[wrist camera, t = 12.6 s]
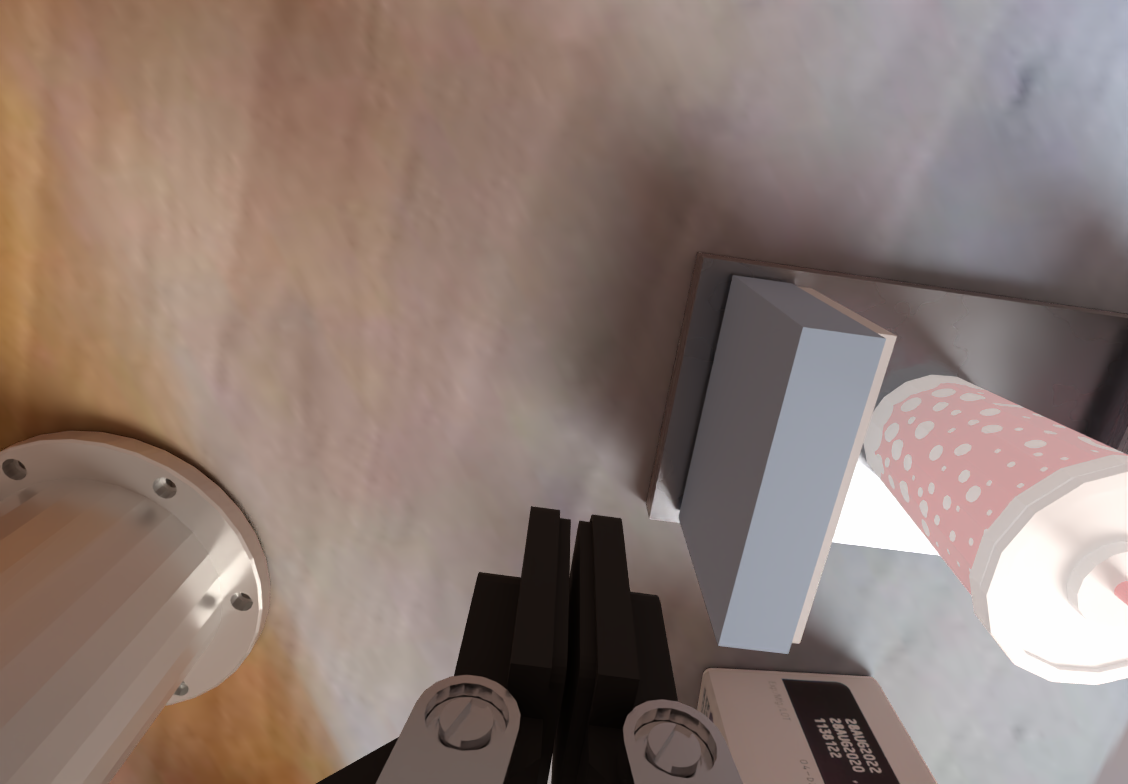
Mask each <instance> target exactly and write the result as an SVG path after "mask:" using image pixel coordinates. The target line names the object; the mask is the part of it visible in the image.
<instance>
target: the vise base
mask: <svg viewBox="0 0 1128 784" xmlns="http://www.w3.org/2000/svg"><path fill="white" fill-rule="evenodd" d="M733 275H736V276H743V277H750V278H757V279H764V280H772V281H779V282H786V283H792V284H794V285H795V286H799V287H806V288H812V289H814V290H816V291H817V292H819V293H821V294H823V295H824V296H826V297H828V298H830V299H832V300H833V301H835V302H837V303H839V304H841V305H842V306H844V307H846V308H848V309H850V310H851V311H853V312H855V313H857V314H859V315H860V316H862V317H864V318H866V319H867V320H869V321H871V322H873V323H875V324H876V325H878V326H880V327H882V328H884V329H885V330H887V331H889V332H891V333H893V334H894V335H896V336H897V338H896V341H895V344H894V347H893V350H892V354H891V357H890V360H889V363H888V366H887V369H886V373H885V376H884V379H883V382H882V385H881V388H880V392H879V395H878V398H877V401H876V404H875V407H874V410H875V409H876V407H877V406H878V405H879V403H880V402H881V401H882V399H883V398H884V397H885V396H886V395H888V394H889V393H891V392H892V391H894V390H895V389H896V388H898V387H899V386H901V385H902V384H904V383H905V382H907V381H911V380H914V379H918V378H921V377H925V376H928V375H943V376H954V377H958V378H961V379H963V380H965V381H967V382H969V383H972V384H974V385H976V386H978V387H980V388H982V389H985V390H987V391H989V392H991V393H993V394H996V395H998V396H1000V397H1002V398H1004V399H1007V400H1009V401H1011V402H1013V403H1015V404H1018V405H1020V406H1022V407H1024V408H1026V409H1029V410H1031V411H1033V412H1035V413H1037V414H1039V415H1042V416H1044V417H1046V418H1048V419H1050V420H1053V421H1055V422H1057V423H1059V424H1061V425H1064V426H1066V427H1068V428H1070V429H1072V430H1075V431H1077V432H1079V433H1081V434H1083V435H1086V436H1088V437H1090V438H1092V439H1094V440H1096V441H1099V442H1101V443H1103V444H1105V445H1107V446H1110V447H1112V448H1114V449H1116V450H1118V451H1121V452H1123V453H1125V454H1127V455H1128V314H1125V313H1118V312H1111V311H1104V310H1097V309H1090V308H1083V307H1076V306H1069V305H1062V304H1055V303H1048V302H1041V301H1034V300H1027V299H1020V298H1013V297H1006V296H999V295H992V294H985V293H978V292H971V291H964V290H957V289H950V288H943V287H936V286H929V285H922V284H915V283H909V282H902V281H895V280H888V279H881V278H874V277H867V276H860V275H853V274H846V273H839V272H832V271H825V270H818V269H811V268H804V267H797V266H790V265H783V264H776V263H769V262H762V261H755V260H748V259H741V258H734V257H727V256H720V255H713V254H706V253H699V252H697V256H696V261H695V266H694V271H693V275H692V280H691V285H690V290H689V295H688V300H687V305H686V310H685V315H684V320H683V324H682V329H681V334H680V339H679V344H678V349H677V354H676V359H675V364H674V368H673V373H672V378H671V383H670V388H669V393H668V398H667V403H666V408H665V412H664V417H663V422H662V427H661V432H660V437H659V442H658V447H657V452H656V457H655V461H654V466H653V471H652V476H651V481H650V486H649V491H648V496H647V501H646V507H647V511H648V515H649V519H652V520H660V521H668V522H676V523H680V521H679V513H680V508H681V504H682V499H683V495H684V490H685V486H686V481H687V477H688V472H689V468H690V464H691V459H692V455H693V450H694V446H695V441H696V437H697V432H698V428H699V423H700V419H701V415H702V410H703V406H704V401H705V397H706V392H707V388H708V383H709V379H710V374H711V370H712V366H713V361H714V357H715V352H716V348H717V343H718V339H719V334H720V330H721V325H722V321H723V317H724V312H725V308H726V303H727V299H728V294H729V290H730V285H731V281H732V276H733ZM873 412H874V411H873ZM832 542H836V543H844V544H852V545H860V546H868V547H876V548H884V549H892V550H900V551H908V552H916V553H924V554H932V555H939V553H938V552H937V551H936V550H935V548H934V547H933V546H932V545H931V543H930V542H929V541H928V539H927V538H926V537H925V536H924V534H923V533H922V532H921V531H920V529H919V528H918V527H917V526H916V524H915V523H914V522H913V520H912V519H911V518H910V517H909V515H908V514H907V513H906V512H905V510H904V509H903V508H902V506H901V505H900V504H899V503H898V501H897V500H896V499H895V498H894V496H893V495H892V494H891V492H890V491H889V490H888V489H887V487H886V486H885V485H884V484H883V482H882V481H881V480H880V479H879V477H878V476H877V475H876V473H875V472H874V471H873V469H872V468H871V467H870V465H869V464H868V463H867V460H866V454H865V449H864V443H863V445H862V449H861V452H860V455H859V458H858V461H857V464H856V468H855V471H854V474H853V477H852V480H851V483H850V487H849V490H848V493H847V496H846V499H845V502H844V506H843V509H842V512H841V515H840V518H839V521H838V525H837V528H836V531H835V534H834V537H833V540H832Z"/></svg>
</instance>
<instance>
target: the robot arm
mask: <svg viewBox="0 0 1128 784" xmlns="http://www.w3.org/2000/svg"><path fill="white" fill-rule="evenodd" d="M570 527H571V520H570V519H562V518H560V510H554V509H547V508H539V507H532V506H531V511H530V518H529V525H528V532H527V539H526V546H525V553H524V560H523V568H522V575H521V578H520V577H513V576H505V575H498V574H490V573H482V572H479V573H478V576H477V580H476V585H475V589H474V593H473V597H472V602H471V606H470V610H469V614H468V619H467V623H466V627H465V631H464V636H463V640H462V644H461V648H460V653H459V657H458V661H457V665H456V670H455V674H454V676H452V677H449V678H446V679H443V680H441V681H438V682H436V683H435V684H433V685H432V686H430V687H429V688H428V689H426V690H425V691H424V692H423V694H422V695H421V696H420V698H419V699H418V700H417V702H416V704H415V706H414V708H413V710H412V712H411V714H410V716H409V718H408V720H407V722H406V724H405V726H404V728H403V730H402V732H401V734H400V736H399V737H398V738H396V739H394V740H393V741H391V742H389V743H387V744H386V745H384V746H382V747H380V748H378V749H377V750H375V751H373V752H371V753H370V754H368V755H366V756H364V757H362V758H361V759H359V760H357V761H355V762H354V763H352V764H350V765H348V766H346V767H345V768H343V769H341V770H339V771H338V772H336V773H334V774H332V775H330V776H329V777H327V778H325V779H323V780H322V781H320V782H318V783H316V784H547V781H548V776H549V770H550V765H551V759H552V781H551V784H743V782H742V779H741V777H740V775H739V772H738V770H737V767H736V765H735V763H734V760H733V758H732V755H731V753H730V750H729V748H728V746H727V743H726V741H725V739H724V737H723V736H722V734H721V732H720V731H719V729H718V727H717V726H716V725H715V724H714V723H713V722H712V721H711V720H710V719H709V718H708V717H707V716H705V715H704V714H702V713H701V712H699V711H698V710H696V709H694V708H693V707H691V706H688V705H685V704H683V703H680V702H678V700H677V694H676V688H675V683H674V677H673V671H672V666H671V660H670V654H669V649H668V643H667V637H666V632H665V626H664V620H663V615H662V609H661V603H660V600H659V597H658V596H657V595H650V594H643V593H635V592H630V588H629V579H628V570H627V561H626V552H625V543H624V535H623V526H622V519H621V518H614V517H607V516H599V515H592V516H591V519H590V522H585V521H579V525H578V530H577V536H576V542H575V548H574V553H573V559H572V565H571V571H570ZM569 571H570V577H569ZM270 587H271V584H270V578H269V572H268V567H267V561H266V558H265V555H264V553H263V550H262V548H261V545H260V543H259V540H258V538H257V535H256V533H255V532H254V530H253V529H252V527H251V525H250V524H249V522H248V521H247V519H246V518H245V516H244V515H243V513H242V511H241V510H240V509H239V508H238V507H237V505H236V504H235V503H234V502H233V501H232V500H231V499H230V498H229V497H228V496H227V495H226V493H225V492H224V491H223V490H222V489H221V488H220V487H219V486H218V485H216V484H215V483H214V482H213V481H211V480H210V479H209V478H208V477H206V476H205V475H204V474H203V473H201V472H200V471H199V470H198V469H196V468H195V467H194V466H192V465H190V464H188V463H186V462H185V461H183V460H181V459H179V458H178V457H176V456H174V455H172V454H171V453H169V452H167V451H165V450H163V449H160V448H157V447H155V446H152V445H149V444H147V443H144V442H142V441H139V440H136V439H133V438H128V437H124V436H119V435H114V434H109V433H105V432H92V431H63V432H56V433H49V434H42V435H38V436H35V437H32V438H29V439H27V440H24V441H21V442H18V443H15V444H13V445H11V446H9V447H7V448H5V449H4V450H2V451H0V784H109V783H110V781H111V780H112V778H113V777H114V776H115V774H116V773H117V772H118V770H119V769H120V767H121V766H122V765H123V763H124V762H125V760H126V759H127V758H128V756H129V755H130V754H131V752H132V751H133V749H134V748H135V747H136V745H137V744H138V742H139V741H140V740H141V738H142V737H143V736H144V734H145V733H146V731H147V730H148V729H149V727H150V726H151V724H152V723H153V722H154V720H155V719H156V717H157V716H158V715H159V713H160V712H161V711H162V709H163V708H164V706H165V705H172V704H175V703H179V702H182V701H185V700H189V699H192V698H196V697H197V696H199V695H201V694H203V693H205V692H207V691H209V690H211V689H213V688H215V687H217V686H218V685H219V684H221V683H222V682H223V681H224V680H226V679H227V678H228V677H229V676H231V675H232V674H233V673H234V672H235V671H236V670H237V669H238V668H239V666H240V665H241V664H242V662H243V661H244V660H245V658H246V657H247V656H248V655H249V653H250V651H251V650H252V648H253V646H254V645H255V643H256V641H257V639H258V638H259V636H260V634H261V632H262V631H263V628H264V625H265V621H266V618H267V615H268V611H269V607H270ZM552 753H553V758H552Z"/></svg>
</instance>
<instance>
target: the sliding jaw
mask: <svg viewBox="0 0 1128 784" xmlns="http://www.w3.org/2000/svg"><path fill="white" fill-rule="evenodd" d="M896 338H897V336H896V335H894V334H893V333H891V332H889V331H887V330H885V329H884V328H882V327H880V326H878V325H876V324H875V323H873V322H871V321H869V320H867V319H866V318H864V317H862V316H860V315H859V314H857V313H855V312H853V311H851V310H850V309H848V308H846V307H844V306H842V305H841V304H839V303H837V302H835V301H833V300H832V299H830V298H828V297H826V296H824V295H823V294H821V293H819V292H817V291H816V290H814V289H812V288H806V287H799V286H795V285H794V284H792V283H786V282H779V281H772V280H764V279H757V278H750V277H743V276H736V275H733V276H732V281H731V285H730V290H729V294H728V299H727V303H726V308H725V312H724V317H723V321H722V325H721V330H720V334H719V339H718V343H717V348H716V352H715V357H714V361H713V366H712V370H711V374H710V379H709V383H708V388H707V392H706V397H705V401H704V406H703V410H702V415H701V419H700V423H699V428H698V432H697V437H696V441H695V446H694V450H693V455H692V459H691V464H690V468H689V472H688V477H687V481H686V486H685V490H684V495H683V499H682V504H681V508H680V513H679V521H680V524H681V527H682V530H683V534H684V537H685V540H686V543H687V547H688V550H689V553H690V556H691V560H692V563H693V566H694V569H695V573H696V576H697V579H698V582H699V585H700V589H701V592H702V595H703V598H704V602H705V605H706V608H707V611H708V615H709V618H710V621H711V624H712V628H713V631H714V634H715V637H716V641H717V644H718V646H724V647H732V648H741V649H749V650H758V651H766V652H775V653H783V654H788V653H789V650H790V647H791V644H792V643H797V644H800V642H801V638H802V635H803V632H804V629H805V626H806V623H807V619H808V616H809V613H810V610H811V607H812V604H813V600H814V597H815V594H816V591H817V588H818V585H819V582H820V578H821V575H822V572H823V569H824V566H825V563H826V559H827V556H828V553H829V550H830V547H831V544H832V540H833V537H834V534H835V531H836V528H837V525H838V521H839V518H840V515H841V512H842V509H843V506H844V502H845V499H846V496H847V493H848V490H849V487H850V483H851V480H852V477H853V474H854V471H855V468H856V464H857V461H858V458H859V455H860V452H861V449H862V445H863V442H864V439H865V436H866V433H867V430H868V426H869V423H870V420H871V417H872V414H873V411H874V407H875V404H876V401H877V398H878V395H879V392H880V388H881V385H882V382H883V379H884V376H885V373H886V369H887V366H888V363H889V360H890V357H891V354H892V350H893V347H894V344H895V341H896Z"/></svg>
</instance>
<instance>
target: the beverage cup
mask: <svg viewBox="0 0 1128 784" xmlns="http://www.w3.org/2000/svg"><path fill="white" fill-rule="evenodd" d="M863 443H864V449H865V454H866V460H867V463H868V464H869V465H870V467H871V468H872V469H873V471H874V472H875V473H876V475H877V476H878V477H879V479H880V480H881V481H882V482H883V484H884V485H885V486H886V487H887V489H888V490H889V491H890V492H891V494H892V495H893V496H894V498H895V499H896V500H897V501H898V503H899V504H900V505H901V506H902V508H903V509H904V510H905V512H906V513H907V514H908V515H909V517H910V518H911V519H912V520H913V522H914V523H915V524H916V526H917V527H918V528H919V529H920V531H921V532H922V533H923V534H924V536H925V537H926V538H927V539H928V541H929V542H930V543H931V545H932V546H933V547H934V548H935V550H936V551H937V552H938V553H939V555H940V556H941V557H942V559H943V560H944V561H945V562H946V564H947V565H948V566H949V567H950V569H951V570H952V571H953V573H954V574H955V575H956V576H957V578H958V579H959V580H960V581H961V583H962V584H963V585H964V586H965V588H966V589H967V590H968V592H969V593H970V594H971V595H972V602H973V609H974V614H975V615H976V616H977V618H978V619H979V620H980V622H981V623H982V624H983V625H984V627H985V628H986V629H987V631H988V632H989V633H990V635H991V636H992V637H993V639H994V640H995V641H996V642H997V644H998V645H999V646H1000V648H1001V649H1002V650H1003V652H1004V653H1005V654H1006V655H1007V657H1008V658H1009V659H1010V660H1011V661H1012V662H1013V664H1015V665H1017V666H1019V667H1021V668H1023V669H1025V670H1027V671H1029V672H1032V673H1034V674H1036V675H1038V676H1040V677H1042V678H1044V679H1046V680H1048V681H1051V682H1062V683H1076V684H1090V685H1099V684H1103V683H1108V682H1112V681H1116V680H1121V679H1125V678H1128V455H1127V454H1125V453H1123V452H1121V451H1118V450H1116V449H1114V448H1112V447H1110V446H1107V445H1105V444H1103V443H1101V442H1099V441H1096V440H1094V439H1092V438H1090V437H1088V436H1086V435H1083V434H1081V433H1079V432H1077V431H1075V430H1072V429H1070V428H1068V427H1066V426H1064V425H1061V424H1059V423H1057V422H1055V421H1053V420H1050V419H1048V418H1046V417H1044V416H1042V415H1039V414H1037V413H1035V412H1033V411H1031V410H1029V409H1026V408H1024V407H1022V406H1020V405H1018V404H1015V403H1013V402H1011V401H1009V400H1007V399H1004V398H1002V397H1000V396H998V395H996V394H993V393H991V392H989V391H987V390H985V389H982V388H980V387H978V386H976V385H974V384H972V383H969V382H967V381H965V380H963V379H961V378H958V377H954V376H943V375H928V376H925V377H921V378H918V379H914V380H911V381H907V382H905V383H904V384H902V385H901V386H899V387H898V388H896V389H895V390H894V391H892V392H891V393H889V394H888V395H886V396H885V397H884V398H883V399H882V401H881V402H880V403H879V405H878V406H877V407H876V409H875V410H874V412H873V414H872V417H871V420H870V423H869V426H868V430H867V433H866V436H865V439H864V442H863Z"/></svg>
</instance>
